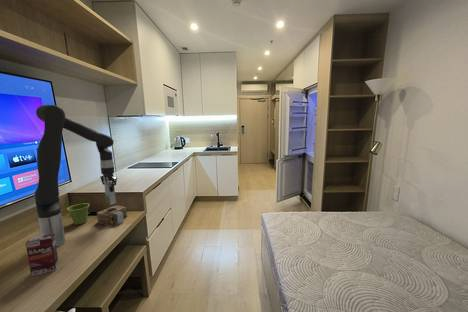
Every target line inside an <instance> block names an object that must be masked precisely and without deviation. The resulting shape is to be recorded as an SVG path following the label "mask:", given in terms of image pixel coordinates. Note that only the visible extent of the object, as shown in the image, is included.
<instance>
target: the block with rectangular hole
mask: <svg viewBox="0 0 468 312" xmlns="http://www.w3.org/2000/svg"><path fill="white" fill-rule="evenodd" d="M118 211H120V212H123V219H125V218H127V217H128V215H127V207H126V206H122V205H117V204H116V205H113V206H110V207H108V208H106V209H103V210H100V211H98V212H96V216H97V223H98V224H102V225H105V226H110V225H112V217H113V213H115V212H118Z"/></svg>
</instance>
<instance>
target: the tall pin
mask: <svg viewBox="0 0 468 312" xmlns="http://www.w3.org/2000/svg"><path fill="white" fill-rule="evenodd" d="M111 184H112V183H111ZM103 186H104V194H105V203H106V205H109V206H111V205H114V204H117V200H116V190H115V189H116V187H114V191H113V192H110V185H109V184H108V183H107V184H104V185H103Z"/></svg>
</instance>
